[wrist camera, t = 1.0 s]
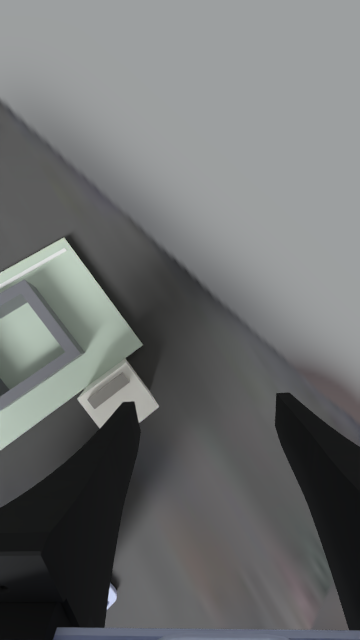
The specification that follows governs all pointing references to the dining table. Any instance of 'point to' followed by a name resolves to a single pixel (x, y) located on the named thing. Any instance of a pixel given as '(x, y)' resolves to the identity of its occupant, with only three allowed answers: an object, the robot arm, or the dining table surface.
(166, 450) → the dining table surface
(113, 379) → the plug
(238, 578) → the dining table surface
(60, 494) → the robot arm
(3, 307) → the board
